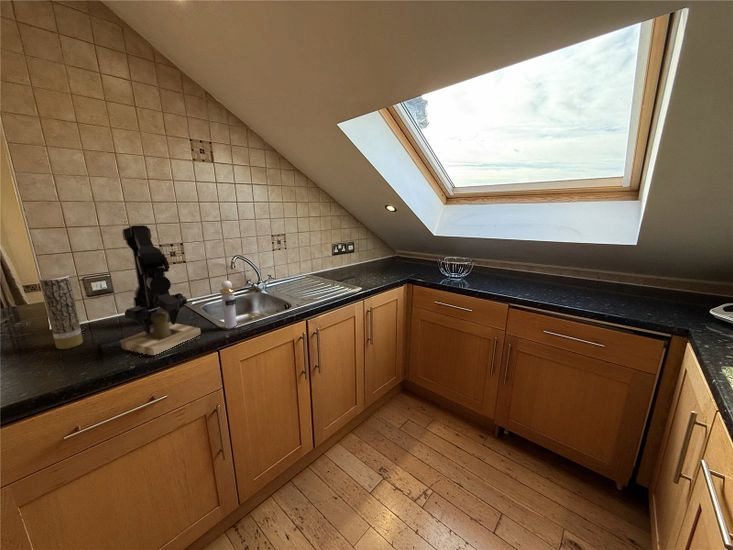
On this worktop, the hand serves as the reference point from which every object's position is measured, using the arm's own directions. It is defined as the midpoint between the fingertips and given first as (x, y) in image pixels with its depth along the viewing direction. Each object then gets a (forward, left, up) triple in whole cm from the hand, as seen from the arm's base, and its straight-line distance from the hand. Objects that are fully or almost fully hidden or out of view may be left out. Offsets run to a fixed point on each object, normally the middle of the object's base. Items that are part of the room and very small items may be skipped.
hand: (161, 328), depth 107 cm
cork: (0, 0, -5) cm, 5 cm away
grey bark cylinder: (-27, -14, -5) cm, 31 cm away
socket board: (0, 0, -5) cm, 5 cm away
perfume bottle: (+13, +19, -5) cm, 24 cm away
